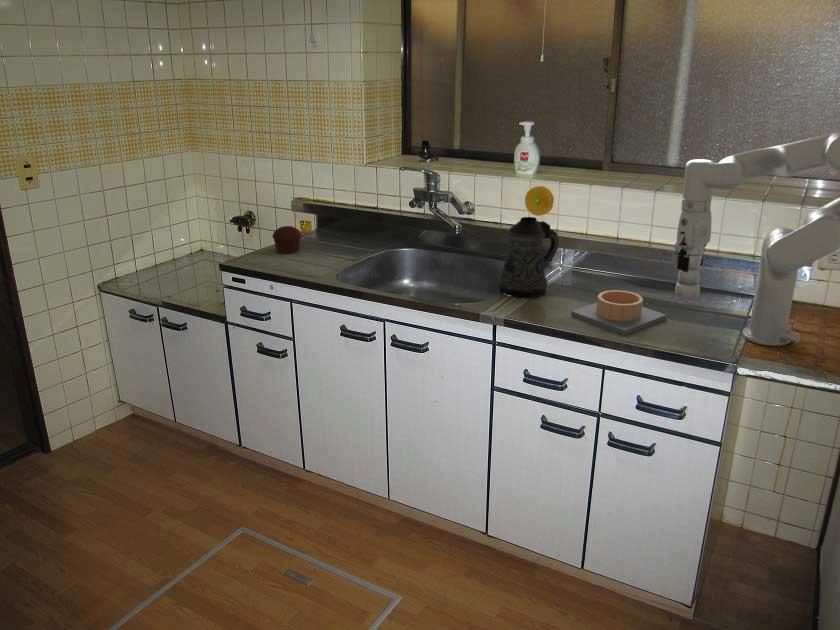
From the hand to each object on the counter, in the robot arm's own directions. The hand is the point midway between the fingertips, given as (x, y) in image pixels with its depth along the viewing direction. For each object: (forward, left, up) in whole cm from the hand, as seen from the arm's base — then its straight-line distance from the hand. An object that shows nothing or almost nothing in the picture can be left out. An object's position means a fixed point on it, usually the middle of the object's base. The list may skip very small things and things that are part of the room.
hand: (689, 266), depth 204 cm
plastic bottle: (0, 0, -10) cm, 10 cm away
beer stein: (+53, +12, -19) cm, 57 cm away
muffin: (+147, +53, -19) cm, 157 cm away
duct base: (+17, +8, -19) cm, 26 cm away
